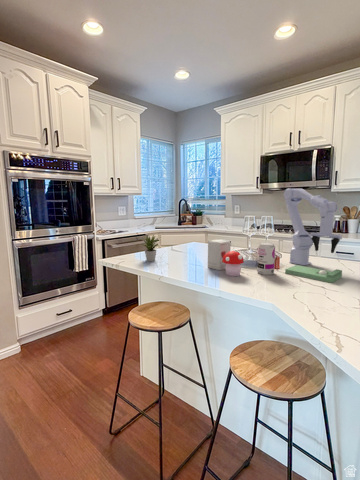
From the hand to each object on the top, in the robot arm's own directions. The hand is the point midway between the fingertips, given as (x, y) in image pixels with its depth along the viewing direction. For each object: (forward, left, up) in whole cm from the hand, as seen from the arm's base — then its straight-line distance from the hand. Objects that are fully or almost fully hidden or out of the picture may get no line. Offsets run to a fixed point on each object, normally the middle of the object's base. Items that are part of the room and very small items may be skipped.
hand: (324, 251), depth 141 cm
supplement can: (-18, -26, -10) cm, 33 cm away
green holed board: (0, -13, -10) cm, 16 cm away
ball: (+5, -14, -8) cm, 17 cm away
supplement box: (-41, -35, -10) cm, 55 cm away
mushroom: (-28, -40, -10) cm, 50 cm away
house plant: (-80, -52, -10) cm, 96 cm away
